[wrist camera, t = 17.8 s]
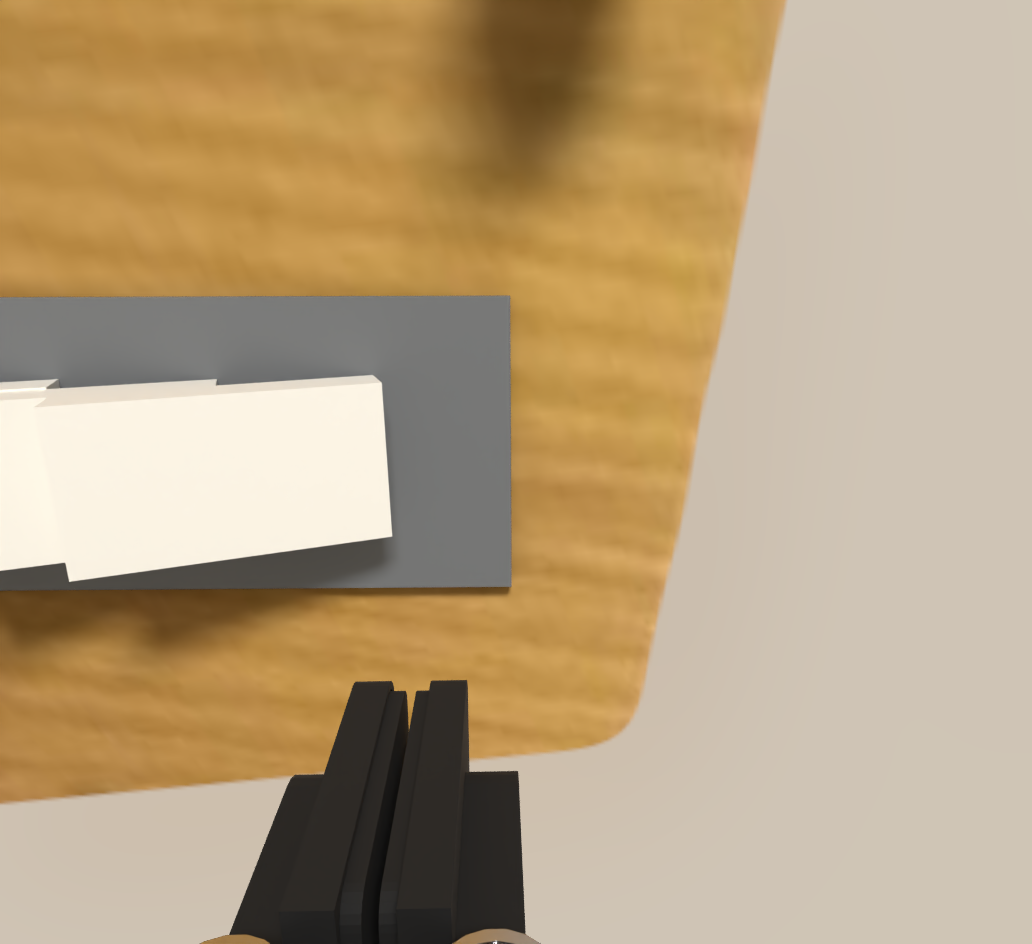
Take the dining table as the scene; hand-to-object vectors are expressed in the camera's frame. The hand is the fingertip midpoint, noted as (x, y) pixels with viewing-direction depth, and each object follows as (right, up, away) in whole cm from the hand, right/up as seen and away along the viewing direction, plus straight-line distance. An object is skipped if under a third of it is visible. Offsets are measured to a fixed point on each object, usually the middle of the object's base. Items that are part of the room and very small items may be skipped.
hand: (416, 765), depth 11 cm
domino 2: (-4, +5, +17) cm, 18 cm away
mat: (-15, +5, +19) cm, 24 cm away
